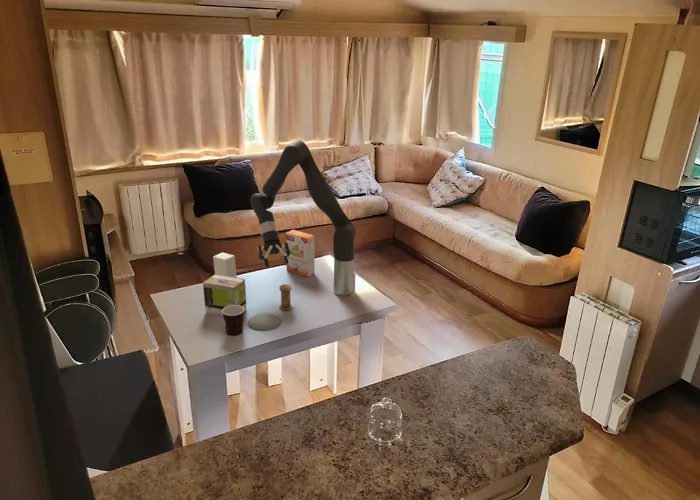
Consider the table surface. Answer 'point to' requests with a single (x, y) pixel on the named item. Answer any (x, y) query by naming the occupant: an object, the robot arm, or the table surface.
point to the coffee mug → (233, 319)
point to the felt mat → (264, 321)
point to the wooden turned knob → (285, 297)
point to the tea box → (223, 293)
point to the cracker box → (301, 253)
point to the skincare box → (225, 265)
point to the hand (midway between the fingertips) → (277, 266)
